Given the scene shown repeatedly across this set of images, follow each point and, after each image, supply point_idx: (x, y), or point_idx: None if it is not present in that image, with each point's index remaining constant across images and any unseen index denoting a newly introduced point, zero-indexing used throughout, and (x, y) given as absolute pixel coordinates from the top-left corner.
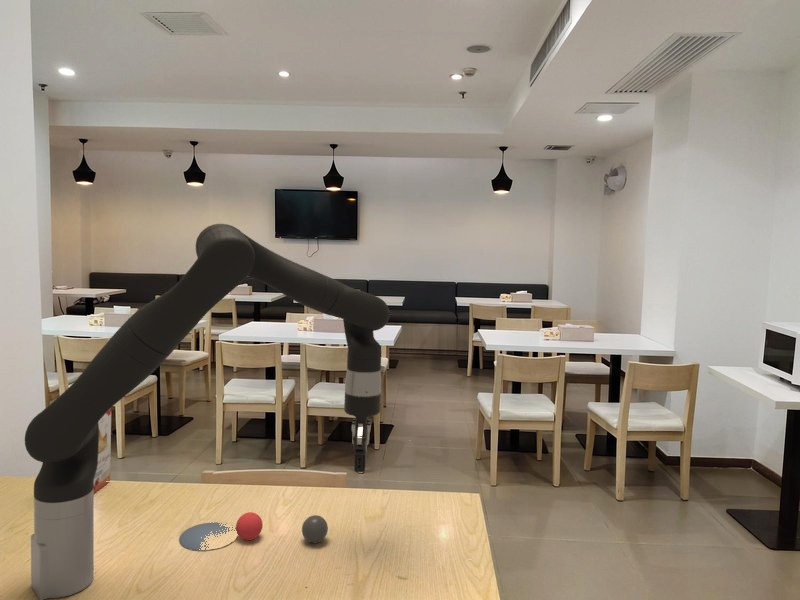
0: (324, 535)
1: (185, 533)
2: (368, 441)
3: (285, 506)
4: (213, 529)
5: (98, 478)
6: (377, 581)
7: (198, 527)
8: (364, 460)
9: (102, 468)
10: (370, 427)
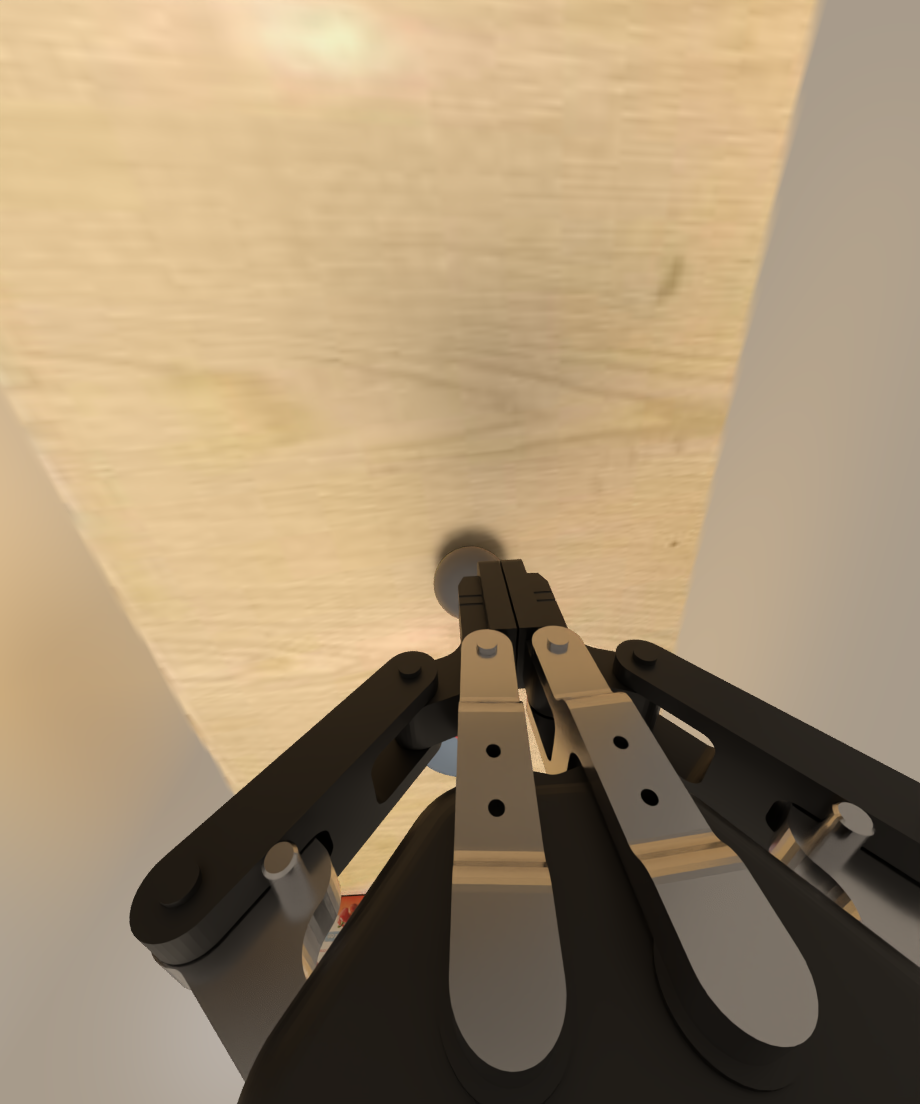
0: (488, 551)
1: None
2: (643, 721)
3: (294, 660)
4: (446, 745)
5: (340, 924)
6: (679, 367)
7: (442, 765)
8: (535, 603)
9: (323, 942)
10: (764, 938)
